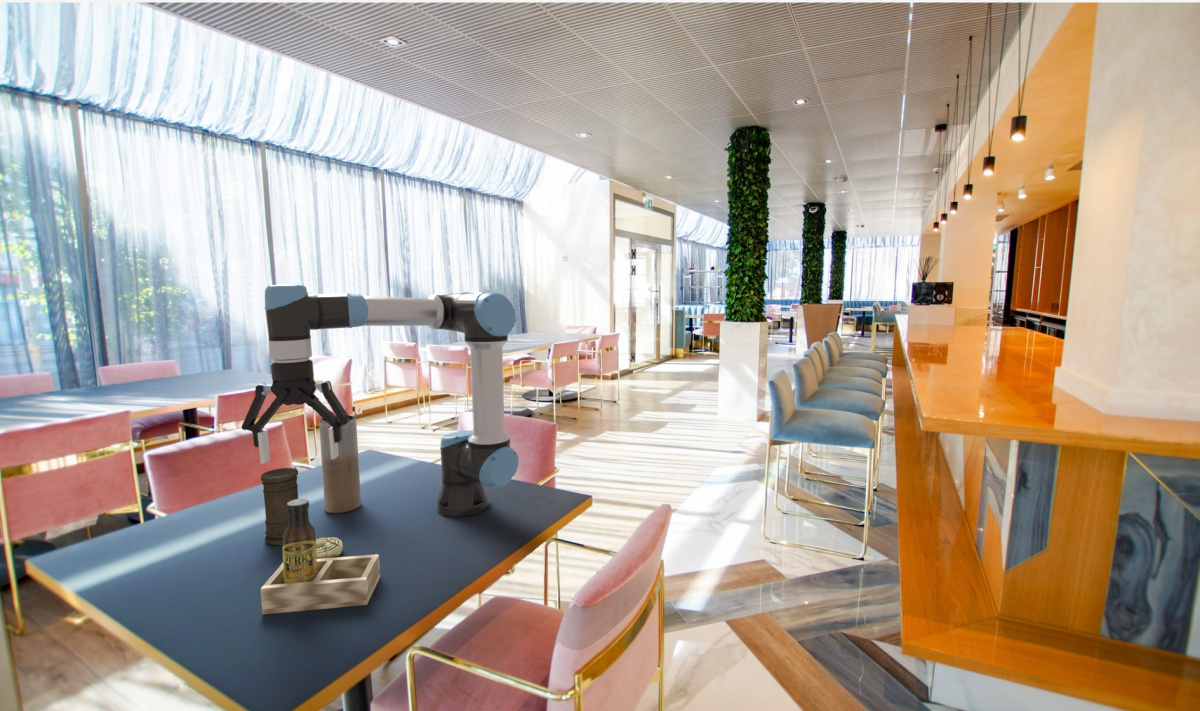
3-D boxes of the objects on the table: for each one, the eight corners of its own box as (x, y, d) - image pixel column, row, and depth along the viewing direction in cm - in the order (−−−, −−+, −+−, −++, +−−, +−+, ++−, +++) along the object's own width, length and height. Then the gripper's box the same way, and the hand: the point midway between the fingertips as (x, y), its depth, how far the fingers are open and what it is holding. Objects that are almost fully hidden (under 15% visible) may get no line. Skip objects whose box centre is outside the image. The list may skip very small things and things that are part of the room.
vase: (364, 508, 159) (358, 418, 156) (327, 516, 154) (321, 423, 151) (357, 498, 168) (352, 412, 164) (322, 505, 162) (316, 416, 159)
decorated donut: (350, 557, 130) (349, 543, 130) (302, 574, 123) (301, 559, 122) (334, 544, 137) (333, 530, 137) (288, 559, 130) (287, 544, 129)
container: (286, 547, 135) (281, 479, 133) (256, 544, 137) (250, 477, 135) (311, 531, 144) (307, 468, 142) (283, 529, 146) (278, 465, 144)
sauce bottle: (282, 602, 109) (275, 509, 107) (286, 587, 115) (279, 499, 112) (318, 595, 112) (311, 504, 109) (320, 580, 117) (314, 494, 115)
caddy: (380, 577, 121) (378, 554, 120) (367, 604, 110) (365, 579, 109) (285, 585, 118) (283, 561, 117) (262, 614, 107) (260, 588, 106)
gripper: (360, 355, 115) (367, 450, 118) (234, 359, 111) (244, 457, 113) (350, 360, 108) (358, 460, 110) (215, 364, 103) (226, 469, 106)
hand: (300, 459), depth 112 cm, fingers open, 13 cm apart
